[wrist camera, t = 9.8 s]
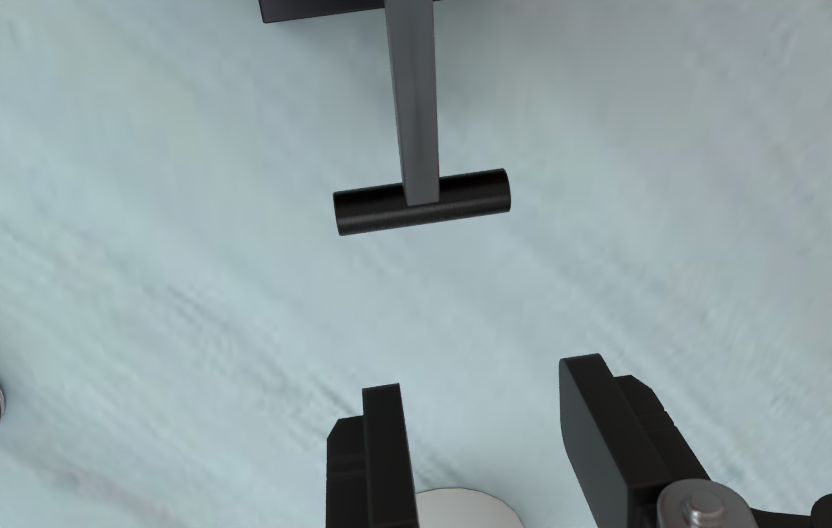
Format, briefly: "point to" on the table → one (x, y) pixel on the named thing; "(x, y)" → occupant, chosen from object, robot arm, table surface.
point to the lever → (418, 143)
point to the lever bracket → (312, 8)
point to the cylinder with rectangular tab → (463, 510)
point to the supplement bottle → (1, 405)
